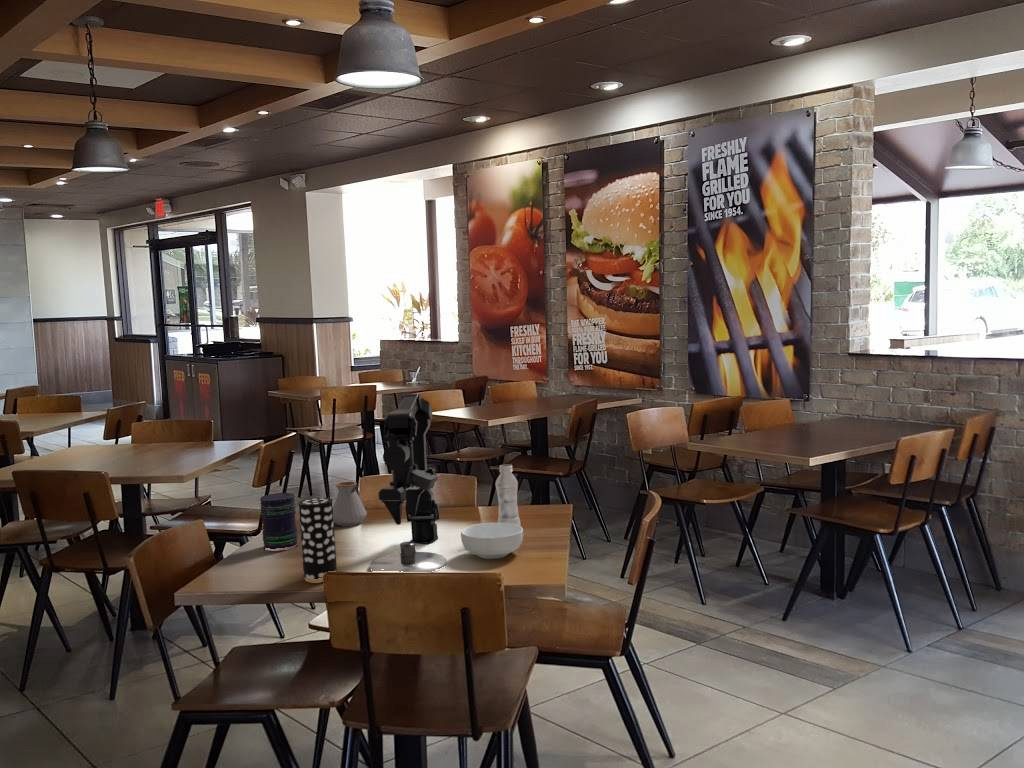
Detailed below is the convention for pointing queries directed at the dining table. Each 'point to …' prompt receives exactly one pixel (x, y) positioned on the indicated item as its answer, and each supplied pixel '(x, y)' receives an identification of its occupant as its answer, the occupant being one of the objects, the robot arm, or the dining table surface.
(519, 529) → the cereal bowl
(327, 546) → the white-spotted black cylinder
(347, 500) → the coffee pot
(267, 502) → the storage jar
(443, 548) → the dining table surface
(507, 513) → the plastic bottle
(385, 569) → the steel lid
